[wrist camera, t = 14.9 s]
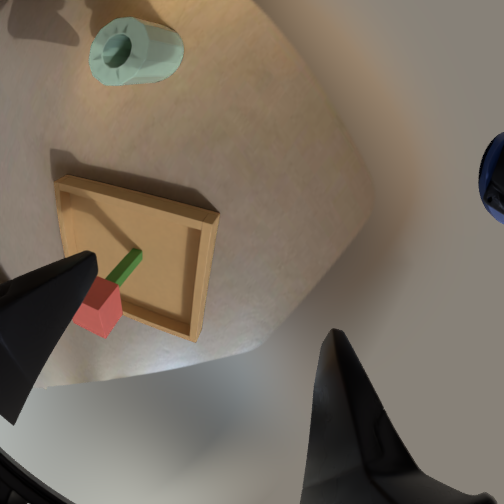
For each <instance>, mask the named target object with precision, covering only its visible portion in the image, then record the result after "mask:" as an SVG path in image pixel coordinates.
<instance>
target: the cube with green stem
mask: <svg viewBox="0 0 504 504" xmlns="http://www.w3.org/2000/svg"><path fill="white" fill-rule="evenodd" d="M142 259H143V257H142V251H141V250H138V249H135V248H132V249H131V251H130V252H129V253H128V254H127V255H126V256H125V257H124V258H123V259H122V260H121V261H120V262H119V264H118V265H117V266H116V267H115V268H114V269H113V270H112V271H111V272H110V274H109V275H108V276H107V277H106V278H105V279H104V278H101V277H99V276H97V277H96V279H95V280H94V282H93V284H92V286H91V288H90V289H89V291H88V293H87V295H86V297H85V299H84V301H83V302H82V304H81V306H80V307H79V309H78V311H77V312H76V314H75V315H74V317H73V318H72V319H73V322H74V323H75V324H77V325H79V326H81V327H83V328H85V329H87V330H89V331H91V332H93V333H95V334H97V335H99V336H101V337H103V338H105V339H106V338H107V336H108V335H109V333H110V332H111V330H112V329H113V327H114V326H115V324H116V323H117V322H118V320H119V319H120V317H121V316H122V314H123V311H122V305H121V298H120V291H119V288H120V286H121V285H122V284H123V283H124V281H125V280H126V279H127V278H128V277H129V275H130V274H131V273H132V272H133V270H134V269H135V268H136V267H137V266H138V264H139V263H140V262H141V261H142Z"/></svg>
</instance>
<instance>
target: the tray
mask: <svg viewBox="0 0 504 504" xmlns="http://www.w3.org/2000/svg"><path fill="white" fill-rule="evenodd" d="M54 187H55V197H56V205H57V213H58V220H59V226H60V232H61V238H62V244H63V249H64V254H65V258H67V257H69V256H72V255H74V254H77V253H80V252H82V251H85V250H89V251H91V252H94V253H95V254H96V256H97V263H98V275H97V276H99V277H101V278H104V279H105V278H106V277H107V276H108V275H109V274H110V272H111V271H112V270H113V269H114V268H115V267H116V266H117V265H118V264H119V262H120V261H121V260H122V259H123V258H124V257H125V256H126V255H127V254H128V253H129V252H130V251H131V249H132V248H135V249H138V250H141V251H142V257H143V259H142V261H141V262H140V263H139V264H138V266H137V267H136V268H135V269H134V270H133V272H132V273H131V274H130V275H129V277H128V278H127V279H126V280H125V281H124V283H123V284H122V285H121V286H120V288H119V291H120V298H121V305H122V311H123V314H122V315H124V316H126V317H129V318H131V319H134V320H136V321H139V322H141V323H144V324H146V325H149V326H151V327H154V328H156V329H159V330H162V331H164V332H167V333H170V334H172V335H175V336H178V337H181V338H184V339H187V340H189V341H192V342H195V343H196V342H197V339H198V337H199V335H200V332H201V330H202V323H203V316H204V309H205V303H206V296H207V289H208V283H209V276H210V270H211V264H212V258H213V252H214V246H215V240H216V234H217V228H218V223H219V217H220V213H217V212H214V211H210V210H206V209H203V208H199V207H195V206H192V205H188V204H184V203H180V202H177V201H173V200H169V199H165V198H161V197H157V196H154V195H150V194H146V193H142V192H138V191H134V190H130V189H126V188H122V187H118V186H114V185H110V184H106V183H101V182H97V181H93V180H89V179H85V178H80V177H76V176H72V175H65V176H63V177H61V178H60V179H58V180H56V181H54Z"/></svg>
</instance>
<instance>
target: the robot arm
mask: <svg viewBox="0 0 504 504" xmlns="http://www.w3.org/2000/svg"><path fill="white" fill-rule="evenodd" d="M488 197H490V198H489V200H488ZM483 201H484V202H485V203H486V204H487V205H488V206H490V207H492V208H493V209H495V210H496V211H498V212H500V213H501V214H503V215H504V144H503V147H502V150H501V153H500V156H499V159H498V161H497V164H496V167H495V169H494V172H493V174H492V177H491V179H490V182H489V184H488V186H487V189H486V191H485V193H484V196H483ZM97 275H98V263H97V256H96V254H95V253H94V252H91V251H89V250H85V251H82V252H80V253H77V254H74V255H72V256H69V257H67V258H64V259H61V260H59V261H56V262H54V263H51V264H49V265H46V266H43V267H41V268H38V269H36V270H34V271H31V272H29V273H26V274H24V275H21V276H19V277H17V278H14V279H13V280H10V281H7V282H5V283H3V284H0V415H1V416H3V417H4V418H5V419H6V420H7V421H8V422H10V423H11V424H12V425H14V424H15V423H16V421H17V418H18V416H19V414H20V412H21V410H22V408H23V405H24V403H25V401H26V399H27V397H28V395H29V393H30V391H31V389H32V387H33V385H34V383H35V381H36V379H37V378H38V376H39V374H40V372H41V370H42V368H43V367H44V365H45V363H46V361H47V359H48V358H49V356H50V354H51V352H52V351H53V349H54V347H55V346H56V344H57V342H58V341H59V339H60V337H61V336H62V334H63V332H64V331H65V329H66V328H67V326H68V324H69V323H70V321H71V320H72V318H73V317H74V315H75V314H76V312H77V311H78V309H79V307H80V306H81V304H82V302H83V301H84V299H85V297H86V295H87V293H88V291H89V289H90V288H91V286H92V284H93V282H94V280H95V279H96V277H97ZM27 503H29V504H75V503H73V502H72V501H70V500H69V499H67V498H65V497H64V496H62V495H61V494H59V493H58V492H56V491H55V490H53V489H52V488H50V487H49V486H47V485H46V484H45V483H43V482H42V481H41V480H39V479H38V478H36V477H35V476H34V475H32V474H31V473H30V472H29V471H27V470H26V469H25V468H24V467H22V466H21V465H20V464H19V463H17V462H16V461H15V460H14V459H13V458H12V457H11V456H9V455H8V454H7V453H6V452H5V451H4V450H3V449H2V448H1V447H0V504H27ZM300 504H497V501H496V500H495V498H494V497H493V496H491V495H490V494H488V493H486V492H484V493H481V494H478V495H468V494H465V493H462V492H460V491H458V490H456V489H454V488H451V487H449V486H447V485H445V484H443V483H441V482H439V481H437V480H435V479H433V478H431V477H429V476H428V475H426V474H425V473H424V472H423V471H421V469H420V468H419V467H418V466H417V464H416V463H415V461H414V459H413V458H412V456H411V455H410V453H409V451H408V450H407V448H406V447H405V445H404V443H403V442H402V440H401V438H400V437H399V435H398V433H397V432H396V430H395V428H394V426H393V425H392V423H391V421H390V419H389V417H388V415H387V413H386V411H385V409H384V407H383V405H382V403H381V401H380V399H379V397H378V395H377V393H376V391H375V389H374V388H373V385H372V384H371V382H370V380H369V378H368V376H367V374H366V372H365V370H364V368H363V366H362V364H361V363H360V361H359V359H358V357H357V355H356V353H355V351H354V350H353V348H352V346H351V344H350V342H349V340H348V338H347V337H346V335H345V333H344V332H343V331H342V330H339V329H334V328H333V329H331V330H330V332H329V333H328V335H327V336H326V338H325V340H324V341H323V343H322V346H321V350H320V356H319V362H318V367H317V372H316V378H315V383H314V391H313V404H312V414H311V425H310V435H309V444H308V453H307V460H306V468H305V475H304V482H303V490H302V494H301V501H300Z"/></svg>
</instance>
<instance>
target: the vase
mask: <svg viewBox="0 0 504 504" xmlns="http://www.w3.org/2000/svg"><path fill="white" fill-rule="evenodd" d="M183 53H184V46H183V42H182V39H181V37H180V36H179V34H178V33H177V32H175V31H174V30H172V29H170V28H168V27H166V26H163V25H160V24H157V23H153V22H150V21H146V20H143V19H139V18H135V17H123V18H117V19H114V20H113V21H111V22H110V23H108V24H107V25H106V26H104V27H103V28H102V29H100V31H99V33H98V34H97V36H96V37H95V39H94V41H93V42H92V45H91V49H90V55H89V65H90V68H91V72H92V75H93V76H94V77H95V78H96V79H97V80H98V81H100V82H101V83H102V84H103V85H107V86H121V85H131V84H144V83H155V82H159V81H162V80H164V79H166V78H168V77H169V76H171V75H172V74H173V73H174V72H175V71H176V70H177V68H178V67H179V65H180V63H181V61H182V58H183Z"/></svg>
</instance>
